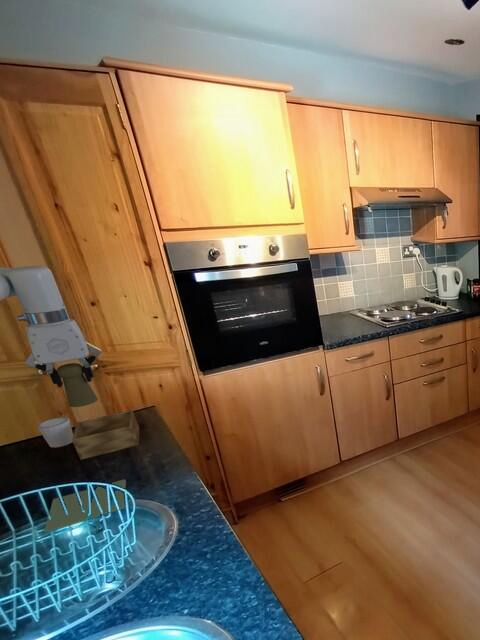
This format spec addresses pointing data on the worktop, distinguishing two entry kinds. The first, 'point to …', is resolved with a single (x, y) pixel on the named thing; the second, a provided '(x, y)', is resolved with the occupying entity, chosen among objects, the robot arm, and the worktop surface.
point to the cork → (76, 385)
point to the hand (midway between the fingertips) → (75, 382)
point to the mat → (75, 510)
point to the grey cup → (56, 431)
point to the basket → (106, 434)
